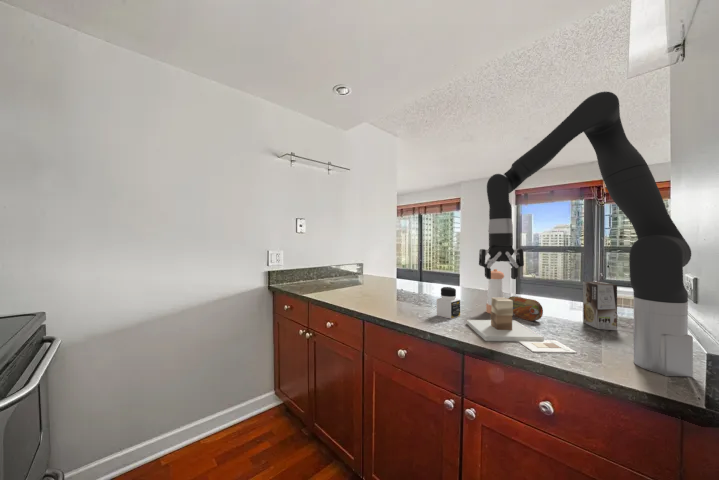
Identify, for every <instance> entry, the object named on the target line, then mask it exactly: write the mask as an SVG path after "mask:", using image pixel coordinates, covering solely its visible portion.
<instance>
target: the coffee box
mask: <svg viewBox="0 0 719 480" xmlns="http://www.w3.org/2000/svg"><path fill="white" fill-rule="evenodd" d="M582 295H583V296H582V302H583V303H582V306H583V307H582V308H583V309H582V310H583V311H582V312H583V314H582V316H583V320H582V321H583V323H584V324H586V325H587V326H590V327H592V328H594V329H597V330H606V331H608V330H609V331H618V284H614V283H611V282H610V283H609V282H604V281H594V280H593V281H582Z"/></svg>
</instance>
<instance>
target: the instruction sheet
mask: <svg viewBox="0 0 719 480" xmlns="http://www.w3.org/2000/svg"><path fill="white" fill-rule="evenodd" d="M517 343H519V344H521V345H522V346H524V347H525V348H526V349H527V350H529V351H531V352H532V353H544V352H545V353H549V354H550V353H551V354H552V353H556V354H557V353H558V354H559V353H560V354H561V353H563V354H577V353H578V352H577V351H576V350H574V349H572V348H570V347H569V346H567V345H565V344H563V343H561V342H560V341H558V340H552V339H550V340H549V339H548V340H546V339H544V341H521V340H518V341H517Z"/></svg>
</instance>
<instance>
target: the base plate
mask: <svg viewBox="0 0 719 480" xmlns="http://www.w3.org/2000/svg"><path fill="white" fill-rule="evenodd" d="M466 325H467V326H469V327H470V328H471V329H472V330H473V331H474V332H475V333H476V334H477V335H478V336H479V337H481V339H482V340H484V341H486V342H518V340H521V341H544V340H545V337H544V336H543V335H541V334H539V333H538V332H535V330H533V329H531V328H530V327H527V326H526V325H523V324H522V323H520V322H519V321H517V320H513V319H512V330H497V329H495V328H494V327H493V326H491V319H466Z"/></svg>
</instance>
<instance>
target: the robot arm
mask: <svg viewBox="0 0 719 480" xmlns="http://www.w3.org/2000/svg"><path fill="white" fill-rule="evenodd" d="M620 113H621V112H620V101H619V98H618V95H616V93H613V92H611V91H605V90H604V91H600V92H595V93H594V94H591V95H589V96H588V97H586V99H584V100H583V101H582V102H580V104H579V105H578V106H577V107H576V108H575V109H573V111H572V112H570V114H568V115H567V117H566V118H564V119H563V121H562V122H561V123H559V124H558V125H557V126H556V127H555V128H554V129H553V130H552V131H551V132H550V133H548V134H547V135H546V136H545V137H544V138H542V140H540V141H539V142H538V143H537V144H536V145H534V146H533V147H532V148H531V149H529V150H527V151H526V152H525V153H524V154H523V155H521V156H520V157H518V158H517V159H516V160H515V161H514V162H513V163H512V164H511V166H510V168H509V169H508V170H507V171H506V172H504V173H496V174H493V175H491V176H490V177H489V178H488V180H487V183H486V195H487V200H488V201H487V202H488V206H489V210H488V212H489V214H488V215H489V216H488V217H489V220H488V221H489V222H488V229H487V231H488V249H485V248H481V249H479V253H478V254H479V255H478V266H479V267H482V268H484V276H485V278H486V279H487V280H489V279H491V271H492V268H491V267H492V266H493V264H495V263H496V262H507V263H508V264H509V265H510V267H511V268H510V278H511V279H512V280H517V278H518V277H519V275H518V274H519V273H518V272H519V270H518V269H519V268H521V267H524V265H525V261H524V250H523V249H522V248H515V249H514V248H513V247H514V246H513V245H514V232H513V231H514V230H513V229H514V225H513V212H512V211H513V210H512V204H511V202H510V193H512V192H513V191H515V190H516V189H517V188H519V186H521V185H522V183H524V182H525V181H526V180H527V179H528V178H531V176H532V175H534V174H536V173H537V172H538V171H540V170H541V169H543V168H544V167H545V166H547V164H549V163H550V162H551V161H552V160H554V158H555V157H556V156H557V155H558V154H559V153H560V152H561V151H562V150H563V148H565V147H566V146H567V145H569V143H570V142H572V141H573V140H574V139H575V138H577V137H578V136H579V135H581V134H582V133H584V134H585V136H586V138H587V139H588V141H589V143H590V145H591V146H592V149H593V150H594V152H595V155H596V159H597V163H598V164H597V165H598V169H599V171H600V175H601V178H602V181H603V183H604V185H605V187H606V189H607V192H608V194H609V196H610V198H611V199H612V201H613V202H614V204H615V205H616V206H617V207H618V208H619V210H620V211H621V212H622V213H623V214H624V215H625V217H626V218H627V219H628V220H629V222H630V223H631V225H632V227H633V229H634V231H635V235H636V237H637V240H635V241H634V243H633V244H632V245H631V248H630V251H629V256H628V257H629V258H628V259H629V260H628V261H629V265H628V266H629V282H630V286H631V288H632V290H633V363H634V365H636V366H638V367H640V368H642V369H644V370H647V371H651V372H654V373H657V374H661V375H663V376H666V377H693V376H694V368H693V367H694V348H693V347H694V342H693V341H694V338H693V336H692V335H690V334H689V329H688V328H689V315H688V314H689V311H688V310H689V300H688V299H689V294H688V293H689V292H688V290H687V289H686V286H685V284H684V269H683V268H684V267H686V266H687V265H688V264H689V263H690V261H691V259H692V258H691V257H692V249H691V247H690V245H689V243H688V242H687V240H686V239H685V238H684V237H683V234H682V233H681V232H680V230H679V228H678V227H677V226H676V224H675V223H674V221H673V220H672V218H671V216H670V214H669V212H668V210H667V207H666V205H665V202H664V200H663V195H662V194H661V191H660V189H659V187H658V184H657V183H656V180H655V178H654V175H653V174H652V173H653V172H652V171H651V169H650V166H649V165H648V163H647V162H646V160H645V158H644V157H643V155H642V154H641V153H640V152H639V151H638V149H636V147H634V145H633V144H632V143H631V142H630V140H629V139H628V137H627V135H626V133H625V130H624V129H625V128H624V127H623V123H622V120H621V114H620ZM487 255H489V258H488V259H487V261H486V257H487ZM513 255H515V258H514V257H513ZM515 259H516V260H515Z"/></svg>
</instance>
